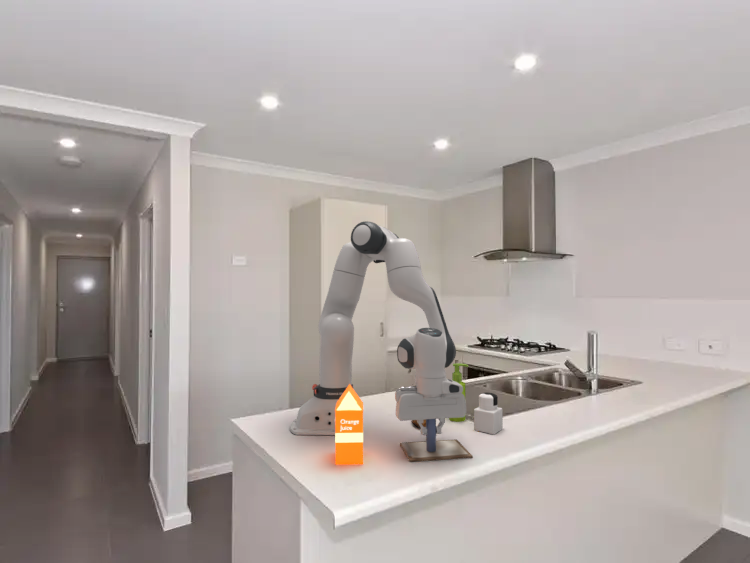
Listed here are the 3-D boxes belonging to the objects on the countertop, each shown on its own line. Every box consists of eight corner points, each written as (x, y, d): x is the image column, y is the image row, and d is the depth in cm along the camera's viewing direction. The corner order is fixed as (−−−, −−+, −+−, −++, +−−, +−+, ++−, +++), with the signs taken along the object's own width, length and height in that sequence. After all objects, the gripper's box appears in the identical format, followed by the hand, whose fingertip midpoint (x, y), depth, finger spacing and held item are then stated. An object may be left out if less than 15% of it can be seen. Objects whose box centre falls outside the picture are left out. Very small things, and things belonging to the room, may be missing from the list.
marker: (427, 452, 123) (427, 409, 123) (424, 448, 126) (424, 406, 126) (437, 451, 123) (437, 409, 123) (434, 447, 126) (434, 406, 126)
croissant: (404, 423, 154) (404, 408, 154) (421, 420, 157) (421, 406, 157) (424, 435, 142) (424, 419, 142) (442, 432, 144) (442, 416, 144)
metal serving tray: (409, 462, 119) (409, 456, 119) (399, 444, 132) (399, 439, 132) (472, 457, 122) (472, 452, 122) (456, 441, 135) (456, 436, 135)
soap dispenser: (468, 422, 153) (468, 365, 153) (448, 421, 154) (448, 364, 154) (468, 417, 158) (468, 362, 159) (449, 416, 160) (449, 362, 160)
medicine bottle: (483, 424, 150) (482, 390, 150) (502, 429, 146) (502, 393, 146) (473, 430, 145) (473, 394, 145) (493, 435, 140) (493, 397, 140)
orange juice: (363, 451, 127) (363, 383, 127) (363, 464, 118) (363, 390, 118) (336, 452, 126) (336, 383, 126) (334, 464, 118) (334, 390, 118)
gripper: (397, 389, 120) (397, 440, 120) (468, 386, 123) (468, 435, 123) (393, 384, 126) (393, 432, 126) (460, 381, 129) (461, 428, 129)
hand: (431, 433), depth 125 cm, fingers closed on marker, 3 cm apart
